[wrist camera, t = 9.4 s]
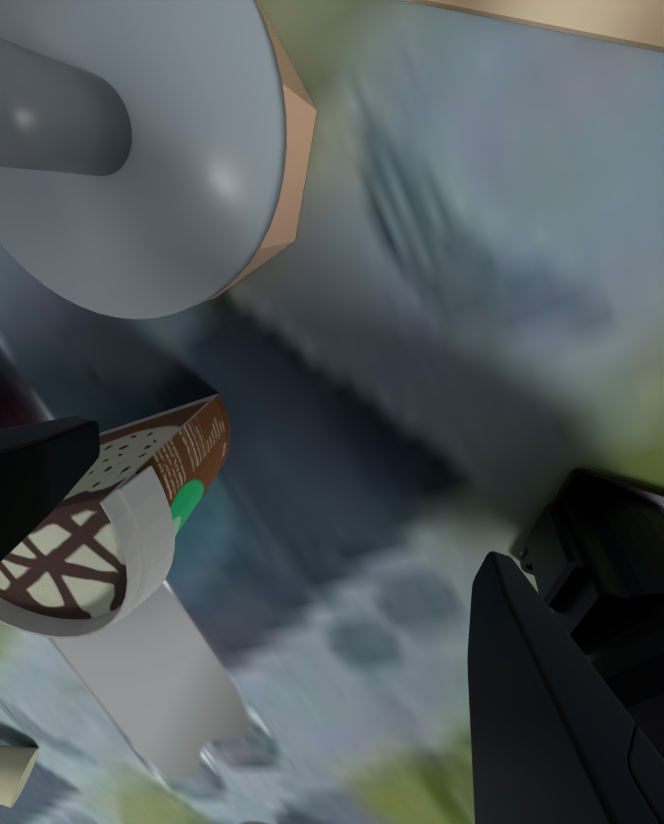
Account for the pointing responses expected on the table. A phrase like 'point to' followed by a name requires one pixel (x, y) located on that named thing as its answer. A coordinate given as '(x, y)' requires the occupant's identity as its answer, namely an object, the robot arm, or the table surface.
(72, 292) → the lid
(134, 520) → the food container
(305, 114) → the bowl
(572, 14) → the mat
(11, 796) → the flower vase
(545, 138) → the table surface
